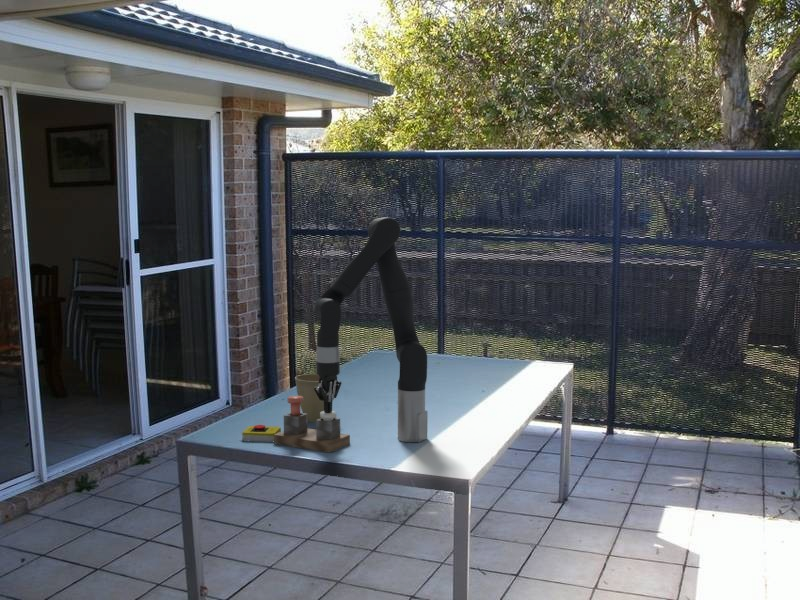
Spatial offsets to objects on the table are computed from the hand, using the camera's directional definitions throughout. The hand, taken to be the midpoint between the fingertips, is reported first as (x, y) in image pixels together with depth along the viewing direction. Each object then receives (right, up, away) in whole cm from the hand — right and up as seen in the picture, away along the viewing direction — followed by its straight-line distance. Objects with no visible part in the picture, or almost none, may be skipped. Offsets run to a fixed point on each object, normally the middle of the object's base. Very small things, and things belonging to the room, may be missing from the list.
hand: (328, 412), depth 262 cm
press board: (-6, -11, +4) cm, 13 cm away
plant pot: (-8, -8, +36) cm, 38 cm away
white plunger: (0, -7, +1) cm, 7 cm away
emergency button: (-23, -11, +12) cm, 28 cm away
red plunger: (-11, -3, +7) cm, 13 cm away
